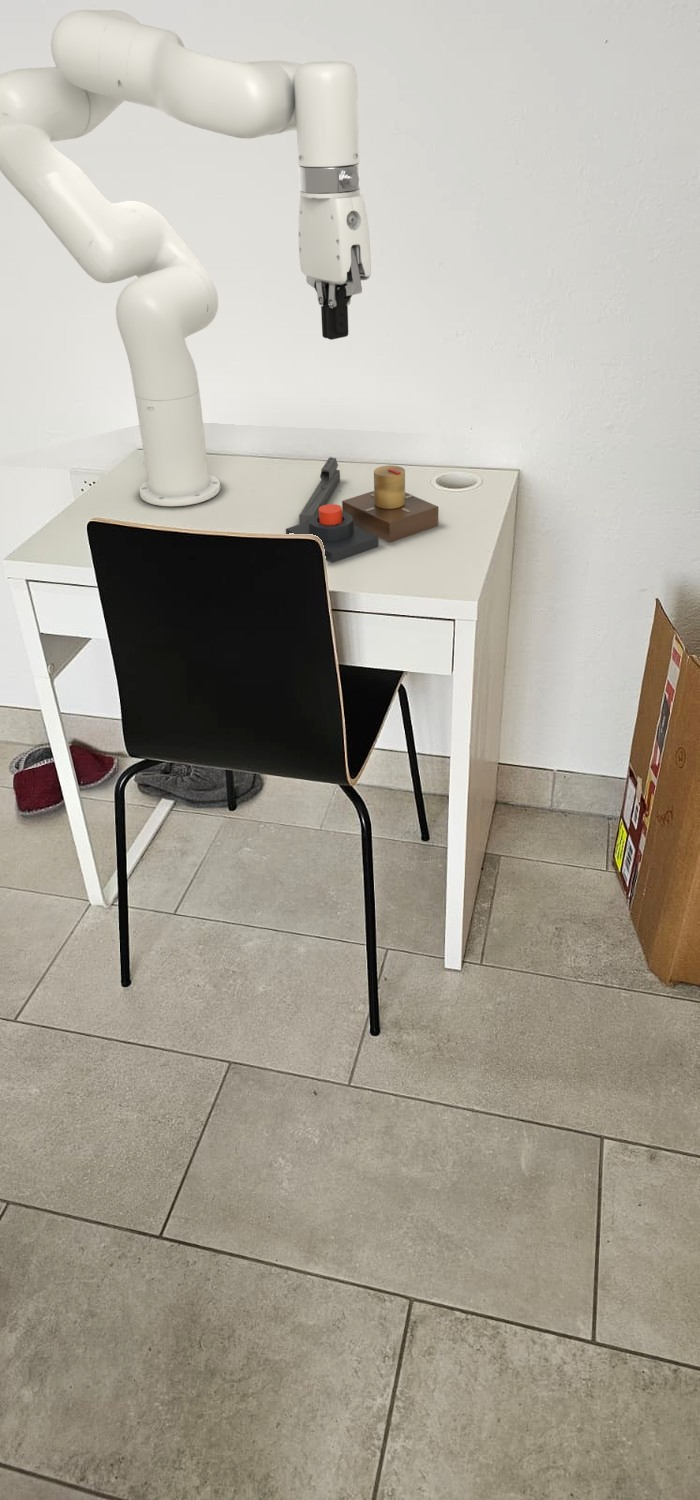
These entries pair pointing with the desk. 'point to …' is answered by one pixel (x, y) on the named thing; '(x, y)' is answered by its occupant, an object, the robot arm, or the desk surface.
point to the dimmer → (391, 516)
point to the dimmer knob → (389, 487)
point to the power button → (330, 514)
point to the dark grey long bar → (322, 490)
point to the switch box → (338, 537)
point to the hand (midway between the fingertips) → (335, 336)
